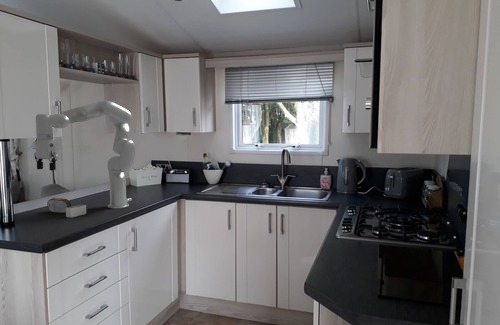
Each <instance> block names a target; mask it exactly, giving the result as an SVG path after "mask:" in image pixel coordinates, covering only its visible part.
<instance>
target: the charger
mask: <svg viewBox="0 0 500 325" xmlns="http://www.w3.org/2000/svg"><path fill="white" fill-rule="evenodd" d="M82 215H83V216H84V215H87V205H86V204H77V205H71V207H68V208H66V213H65V217H66V218H75V217H78V216H82Z"/></svg>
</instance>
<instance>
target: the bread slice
mask: <svg viewBox="0 0 500 325" xmlns="http://www.w3.org/2000/svg"><path fill="white" fill-rule="evenodd" d="M71 203H72V202H70V200H68V199H67V198H63V197H52V198H50V199H48V201H47V203H46V206H47V209H48V211H49V212H51V213H58V214H59V213H60V214H66V208H68V207H72V204H71Z"/></svg>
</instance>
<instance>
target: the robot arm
mask: <svg viewBox="0 0 500 325" xmlns="http://www.w3.org/2000/svg"><path fill="white" fill-rule="evenodd" d="M60 112H61V114H55V113H53V114H54V115H52V114H49V113H48V114H47V113H39V114H36V115H35V130H36V131H35V132H36V144H35V152H34V153H33V157H34V160H35V162H36V170H43V169H44V162H43V160H48V161H49V162H48V163H49V164H48V165H49V171H56V170H57V167H56V164H57V160H58V157H59V155H58V153H57V148H56V144H55V140H54V135H53V134H54V132H53V129H63V128H67V127H68V126H69V125H71V124H73V123H81V122H87V121H90V120H93V119H97V118H100V117H103V116H108V117H109V121H110V122H111V123H112V124H113V126H114V128H115V134H114V135H115V136H114V140H113V145H112V150H113V153H115V154H118V155H119V156H118V155H115V156H111V157H110V158H109V159H108V160H107V166H106V167H107V169H108V170H107V171H108V177H109V180H108V181H109V202H110V203H109V204H107V208H109V209H123V208H124V209H125V208H127V207H128V208H129V206H130V204H129V202H131V201H132V200H133V199H132V197H129V198H127V184H126V183H127V182H126V181H127V178H126V174H125V173H130V171H132V168H133V166H134V162H135V157H136V153H137V149H136V148H137V147H136V144H135V142H134V141H133V140H131V139H130V136H131V128H130V126H129V123H131V121H132V119H133V115H132V112H130V111H129V110H128V109H126V108H125V107H123V106H120V105H119V104H117V103H115V102H113V101H111V100H101V101H100V100H99V101H96V102H92V103H89V104H85V105H82V106H78V107H75V108H74V107H73V108H71V109H67V110H64V111H60ZM52 127H54V128H52Z"/></svg>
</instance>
